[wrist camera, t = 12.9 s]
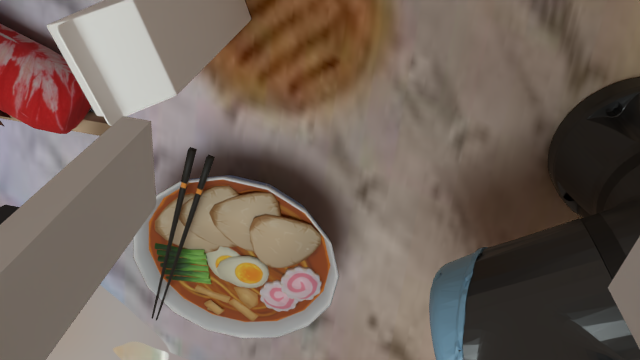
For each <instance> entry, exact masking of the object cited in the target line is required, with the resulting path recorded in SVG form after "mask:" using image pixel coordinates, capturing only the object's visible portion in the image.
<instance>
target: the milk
mask: <svg viewBox="0 0 640 360" xmlns="http://www.w3.org/2000/svg"><path fill="white" fill-rule="evenodd" d="M250 20H251V16H250V14H249V11H248V8H247V5H246V2H245V0H104V1H102V2H99V3H97V4H95V5H92V6H90V7H88V8H85V9H83V10H81V11H78V12H76V13H74V14H71V15H69V16H67V17H65V18H62V19H60V20H58V21H55V22H53V23H51V24H48V25H47V28H48V30H49V32H50V33H51V35H52V37H53V39H54V41H55V42H56V44H57V46H58V48H59V50H60V51H61V53H62V55H63V57H64V58H65V60H66V62H67V64H68V66H69V67H70V69H71V71H72V73H73V75H74V76H75V78H76V80H77V82H78V83H79V85H80V87H81V89H82V91H83V92H84V94H85V96H86V98H87V100H88V101H89V103H90V105H91V107H92V108H93V110H94V112H95V114H96V115H97V116H103V117H104V118H105V120H106V122H107V124H108V125H110V126H112V125H113V124H114V123H116V122H117V121H118V120H119V119H120V118H121V117H122V116H125V117H126V116H128V115H131V114H133V113H136V112H138V111H141V110H143V109H145V108H148V107H150V106H153V105H155V104H158V103H160V102H163V101H165V100H168V99H170V98H172V97H175V96H176V95H177V94H178V93H179V92H180V91H181V90H182V89H183V88H184V87H185V86H186V85H187V84H188V83H189V82H190V81H191V80H192V79H193V78H194V77H195V76H196V75H197V74H198V73H199V72H200V71H201V70H202V69H203V68H204V67H205V66H206V65H207V64H208V63H209V62H210V61H211V60H212V59H213V58H214V57H215V56H216V55H217V54H218V53H219V52H220V51H221V50H222V49H223V48H224V47H225V46H226V45H227V44H228V43H229V42H230V41H231V40H232V39H233V38H234V37H235V36H236V35H237V34H238V33H239V32H240V31H241V30H242V29H243V28H244V27H245V26H246V25H247V24H248V23H249V22H250Z"/></svg>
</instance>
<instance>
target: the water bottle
mask: <svg viewBox="0 0 640 360" xmlns="http://www.w3.org/2000/svg"><path fill="white" fill-rule="evenodd" d="M90 108H91V105H90V103H89V101H88V100H87V98H86V96H85V94H84V92H83V91H82V89H81V87H80V85H79V83H78V82H77V80H76V78H75V76H74V75H73V73H72V71H71V69H70V67H69V66H68V64H67V62H66V60H65V58H64V57H62V56H61V55H59V54H58V53H56V52H54V51H53V50H51V49H49V48H47V47H45V46H43V45H41V44H39V43H37V42H35V41H33V40H31V39H29V38H27V37H26V36H24V35H22V34H20V33H18V32H16V31H14V30H12V29H10V28H8V27H6V26H4V25H2V24H0V116H3V117H8V118H11V117H10V116H12V117H14V118H16V119H18V120H20V121H22V122H23V123H25V124H27V125H29V126H31V127H33V128H36V129H40V130H45V131H50V132H54V133H59V134H66V133H68V132H70V131H71V130H73V129H74V128H76V127H77V126H78V125H79V124H80V122H81V121H82V120H83V119H84V118H85V116H86V115H87V113H88V112H89V110H90ZM0 125H2V126H4V125H3V124H2V122H1V121H0Z"/></svg>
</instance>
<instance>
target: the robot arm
mask: <svg viewBox="0 0 640 360" xmlns="http://www.w3.org/2000/svg"><path fill="white" fill-rule="evenodd" d="M548 168H549V174H550V177H551V180H552V182H553V184H554V186H555V188H556V190H557V192H558V194H559V195H560V197H561V198H562V200H563V201H564V202H565V203H566V204H567V205H568V207H569V208H571V209H572V210H573V211H574V212H575V213H577V214H578V215H580V216H581V217H583V218H581V219H577V220H574V221H571V222H568V223H564V224H561V225H558V226H555V227H552V228H549V229H546V230H543V231H540V232H537V233H534V234H531V235H528V236H525V237H522V238H519V239H515V240H512V241H509V242H506V243H502V244H499V245H496V246H493V247H489V248H488V247H483V248H480V249H478V250H477V251H476V252H475V253H472V254H470V255H467V256H465V257H462V258H460V259H457V260H455V261H452V262H449V263H447V264H445V265H444V266H443V267H441V268H440V269H439V271H438V272H437V273H436V275H435V278H434V279H433V284H432V287H431V291H430V302H429V312H430V327H431V335H432V341H433V347H434V352H435V357H436V360H640V77H638V78H633V79H628V80H625V81H621V82H618V83H615V84H613V85H610V86H608V87H606V88H603V89H602V90H600V91H598V92H596V93H594V94H593V95H591V96H589V97H588V98H587V99H585V100H584V101H583V102H581V103H580V104H579V105H578V106H576V107H575V108H574V109H573V110H572V111H571V112H570V113H569V114H568V116H567V117H566V118H565V119H564V120H563V122H562V123H561V125H560V126H559V128H558V129H557V131H556V133H555V135H554V137H553V139H552V142H551V145H550V149H549V154H548ZM156 206H157V205H156V190H155V175H154V160H153V145H152V130H151V121H147V120H142V119H136V118H130V117H125V116H122V117H121V118H120V119H119V120H118V121H117V122H116V123H114V124H113V125H112V126H111V127H110V128H109V129H108V130H107V131H105V132H104V133H103V134H102V135H101V136H100V137H99V138H98V139H96V140H95V141H94V142H93V143H92V144H91V145H90V146H88V147H87V148H86V149H85V150H84V151H83V152H82V153H81V154H79V155H78V156H77V157H76V158H75V159H74V160H73V161H72V162H70V163H69V164H68V165H67V166H66V167H65V168H64V169H63V170H61V171H60V172H59V173H58V174H57V175H56V176H55V177H54V178H52V179H51V180H50V181H49V182H48V183H47V184H46V185H45V186H43V187H42V188H41V189H40V190H39V191H38V192H37V193H35V194H34V195H33V196H32V197H31V198H30V199H29V200H28V201H26V202H25V203H24V204H23V205H22V206H21V207H15V206H9V205H4V206H2V207H0V360H46V359H47V357H48V356H49V354H50V353H51V352H52V350H53V349H54V347H55V346H56V344H57V343H58V342H59V340H60V339H61V338H62V336H63V335H64V334H65V332H66V331H67V329H68V328H69V327H70V325H71V324H72V322H73V321H74V320H75V318H76V317H77V315H78V314H79V313H80V311H81V310H82V309H83V307H84V306H85V304H86V303H87V302H88V300H89V299H90V297H91V296H92V295H93V293H94V292H95V290H96V289H97V288H98V286H99V285H100V284H101V282H102V281H103V279H104V278H105V277H106V275H107V274H108V272H109V271H110V270H111V268H112V267H113V265H114V264H115V263H116V261H117V260H118V259H119V257H120V256H121V254H122V253H123V252H124V250H125V249H126V247H127V246H128V245H129V243H130V242H131V240H132V239H133V238H134V236H135V235H136V234H137V232H138V231H139V229H140V228H141V227H142V225H143V224H144V222H145V221H146V220H147V218H148V217H149V215H150V214H151V213H152V211H153V210H154V208H155V207H156Z"/></svg>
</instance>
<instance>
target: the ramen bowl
mask: <svg viewBox="0 0 640 360" xmlns="http://www.w3.org/2000/svg"><path fill="white" fill-rule="evenodd" d="M196 150H197V149H194V148H191V147H190V148H189V150H188V152H187V157H186V162H185V166H184V171H183V175H182V180H181V181H180V182H178V183H177V184H175V185H173V186H172V187H170V188H168V189H166V190H165V191H163V192H161V193H160V194H158V195H156V205H157V206H156V207H155V208H154V210H153V211H152V213H151V214H150V215H149V217H148V218H147V220H146V221H145V222H144V224H143V225H142V227H141V228H140V229H139V231H138V232H137V234H136V235H135V236H134V238H133V258H134V260H135V262H136V264H137V267H138V269H139V271H140V273H141V275H142V277H143V279H144V281H145V283H146V285H147V287H148V288H149V289H150V290H151V291H152V292H153V293H154V294H155V295H156V300H155V305H154V309H153V314H152V319H153V316H154V312H155V308H156V304H157V300H158V298H159V299H160V300H161V301H162V302H161V305H160V308H159V312H158V315H157V318H156V320H157V319H158V316H159V313H160V311H161V308H162V305H163V303H164V304H165V305H167V306H168V307H169V308H170V309H171V310H172V311H173V312H174V313H176V314H178V315H179V316H181V317H183V318H185V319H187V320H189V321H191V322H192V323H194V324H196V325H198V326H200V327H202V328H204V329H205V330H208V331H212V332H217V333H221V334H225V335H230V336H234V337H238V338H242V339H244V338H278V337H281V336H283V335H286V334H289V333H291V332H294V331H297V330H299V329H302V328H305V327H307V326H309V325H310V324H311V323H312V322H313V321H314V320H315V319H317V318H318V317H319V316H320V315H321V314H322V313H323V312H324V311H325V310H326V309H327V308H328V307H329V306H330V305H331V302H332V299H333V295H334V292H335V288H336V285H337V281H338V278H339V275H338V270H337V265H336V261H335V256H334V252H333V247H332V243H331V242H330V240H329V238H328V237H327V235H326V234H325V233H324V231H323V230H322V229H321V227H320V226H319V225H318V224H317V222H316V221H315V220H314V219H313V217H312V216H311V215H310V214H309V212H308V211H307V210H306V209H305V207H304V206H303V205H301V204H300V203H299V202H297V201H295V200H294V199H292V198H291V197H289V196H288V195H286V194H284V193H283V192H281V191H280V190H278V189H276V188H275V187H273V186H272V185H270V184H267V183H263V182H259V181H254V180H250V179H246V178H241V177H237V176H232V175H225V176H215V177H208V175H209V172H210V169H211V166H212V163H213V161H214V158H215V157H213V156H211V155H208V156H207V158H206V161H205V164H204V167H203V170H202V173H201V177H200V178H195V179H189V177H190V173H191V169H192V165H193V162H194V158H195V154H196Z"/></svg>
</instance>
